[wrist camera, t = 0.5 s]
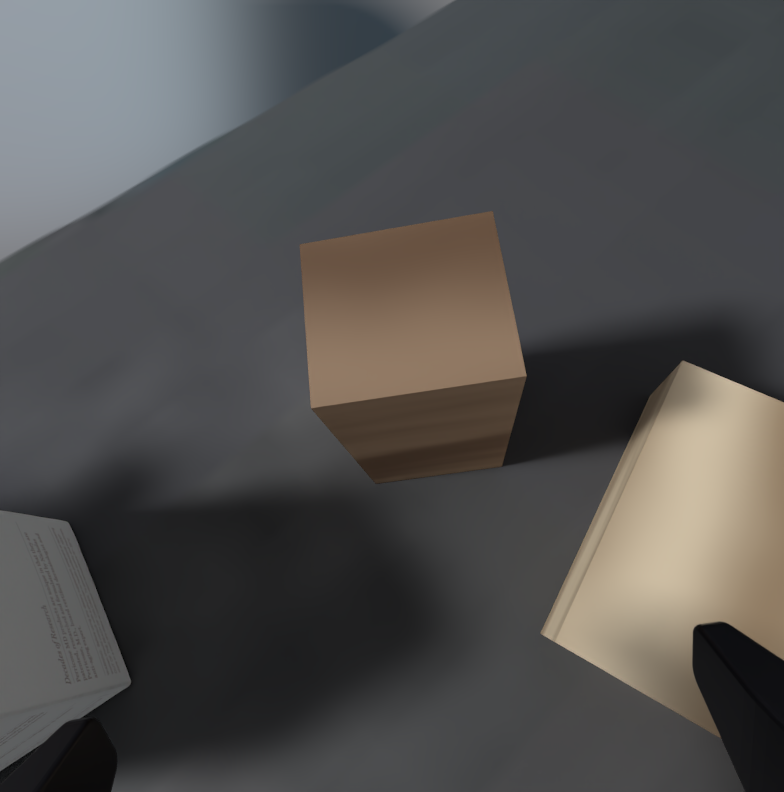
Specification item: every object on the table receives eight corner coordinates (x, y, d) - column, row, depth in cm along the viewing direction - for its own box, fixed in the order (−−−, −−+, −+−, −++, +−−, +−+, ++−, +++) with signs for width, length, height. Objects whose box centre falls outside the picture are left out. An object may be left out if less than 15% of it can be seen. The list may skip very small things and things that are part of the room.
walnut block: (501, 466, 22) (526, 376, 13) (375, 483, 23) (310, 408, 13) (482, 360, 24) (492, 210, 14) (364, 378, 24) (300, 244, 15)
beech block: (925, 520, 20) (1028, 504, 16) (835, 805, 18) (932, 860, 14) (647, 398, 23) (682, 360, 19) (539, 633, 21) (555, 642, 17)
